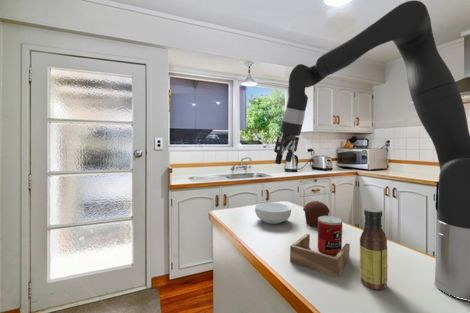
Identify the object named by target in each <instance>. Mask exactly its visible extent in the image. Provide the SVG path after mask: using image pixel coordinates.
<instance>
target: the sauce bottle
mask: <svg viewBox="0 0 470 313" xmlns="http://www.w3.org/2000/svg"><path fill="white" fill-rule="evenodd" d="M363 215H364V226H363V230H362V232H361V235H360V237H359V276H360V281H361V283H362V284H363V285H364V286H366V287H367V288H369V289H371V290H377V291H378V290H379V291H381V290H385V289H386V288H387V286H388V244H387V243H388V240H387V239H388V238H387V236H386V233H385V231H384V229H383V228H382V227H383V225H382V217H383V210H381V209H379V208H374V207H366V208H364V211H363Z"/></svg>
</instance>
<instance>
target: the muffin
mask: <svg viewBox="0 0 470 313" xmlns="http://www.w3.org/2000/svg"><path fill="white" fill-rule="evenodd" d="M302 210H303V211H304V216H305V224H306V225H308V226H310V227H314V228H318V218H319V217H320V216H329V213H330V212H331V211H330V208H329V207H328V206H327V205H326V204H325V203H323V202H322V201H310V202H308V203H306V204H305V205H304V206H303V208H302Z"/></svg>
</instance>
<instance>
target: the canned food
mask: <svg viewBox="0 0 470 313" xmlns="http://www.w3.org/2000/svg"><path fill="white" fill-rule="evenodd" d="M342 241H343V219H341V218H340V217H337V216H333V215H328V216H320V217H319V218H318V227H317V249H318V251H319V253H322V254H325V255H329V256H332V257H335V256H336V255H337V254H338V253H339V251H340V250H341V249H342V248H343V247H342V244H343V242H342Z"/></svg>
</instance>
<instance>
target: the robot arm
mask: <svg viewBox="0 0 470 313" xmlns="http://www.w3.org/2000/svg"><path fill="white" fill-rule="evenodd" d="M391 41H392V42H393V44H395V46H396V48H397V49H398V52H399V54H400V56H401V57H402V60H403V63H404V65H405V69H406V76H407V83H408V84H407V85H408V90H409V94H410V97H411V100H412V103H413V106H414V110H415V112H416V114H417V116H418V119H419V121H420V122H421V124H422V127H423V128H424V129H425V131H426V133H427V134H428V137H429V138H430V139H431V142H432V144H433V145H434V149H435V152H436V156H437V160H438V161H437V162H438V166H439V171H440V172H439V176H438V189H437V190H438V192H437V193H438V194H437V221H436V222H437V223H436V224H437V225H436V227H437V228H436V245H435V247H436V248H435V266H434V269H435V270H434V285H436V286H437V287H438V288H439V289H440V290H439V289H438V288H437V287H436V286H435V287H436V288H437V289H438V290H439V291H441V290H442V291H443V292H442V291H441V292H442V293H444V292H445V293H444V294H446V293H447V294H450V295H452V296H455V297H459V298H463V299H467V300H470V132H469V124H468V118H467V114H466V108H465V105H464V102H463V98H462V95H461V93H460V90H459V87H458V85H457V82H456V80H455V78H454V76H453V74H452V72H451V71H450V69H449V67H448V66H447V64H446V62H445V61H444V59H443V58H442V56H441V55H440V53H439V50H438V48H437V44H436V40H435V37H434V33H433V29H432V22H431V17H430V14H429V11H428V8H427V6H426V4H424V2H422V1H421V0H420V1H419V0H408V1H407V0H406V1H405V2H402V3H400V4H399V5H397V6H396V7H395V8H393V9H391V10H389V11H388V12H387V13H386V14H385V15H383V16H382V17H381V18H379V19H378V20H376V21H375V22H373V23H371V25H369V26H367V27H366V28H365V29H363V30H362V31H360V32H359V33H357V34H356V35H355V36H353V37H351V38H350V39H348V40H347V41H345V42H343V43H342V44H340V45H338V46H336V47H334V48H333V49H330V50H329V51H327V52H324V54H321V55H320V56H318V57H317V58H316V60H315V63H314V64H313V65H312V66H307V65H306V64H303V63H299V64H296V65H294V67H292V68H291V71H290V73H289V76H288V98H287V102H286V107H285V111H284V113H283V117H282V122H281V127H280V129H279V130H280V133H282V136H280V135H279V136H277V139H276V142H275V144H274V145H275V146H274V148H273V152H274V153H276V156H275V161H274V163H275V164H276V165H281V164H282V160H283V156H284V154H285V152H286V151H287V152H286V156H285V158H284V159H285V162H287V163H291V162H292V160H293V155H294V154H295V152H297V150H298V147H299V146H298V145H299V140H300V137H299V136H300V135H301V133H302V128H303V123H304V120H305V115H306V114H305V113H306V110H307V105H308V99H309V97H308V96H307V94H306V89H307V88H312V87H313V86H316V85H317V84H318V83H320V82H321V81H323V80H324V79H325V78H327V77H328V76H330V75H333V74H335V73H336V72H337V73H338V72H339V71H341V70H343V69H346V68H347V67H349V66H351V64H353V63H355V62H356V61H357V60H358V59H360V58H361V57H362V56H364V55H365V54H366V53H367V52H369V51H372V50H373V49H374V48H376V47H378V46H381V45H383V44H387V43H389V42H391ZM447 294H446V295H447ZM450 295H449V296H450ZM452 296H451V297H452Z"/></svg>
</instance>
